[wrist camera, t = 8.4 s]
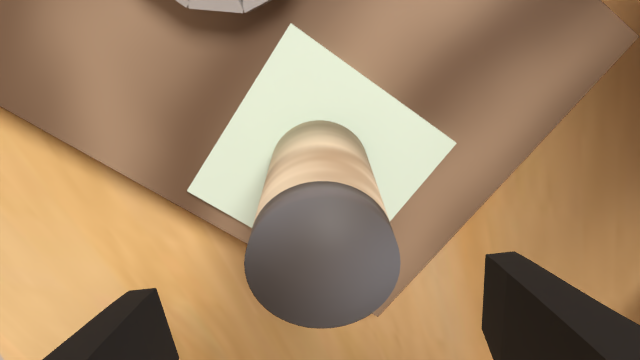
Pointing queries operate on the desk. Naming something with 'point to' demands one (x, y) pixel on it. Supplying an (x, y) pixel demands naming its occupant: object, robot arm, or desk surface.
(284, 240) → the beech pin
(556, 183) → the desk surface
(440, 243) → the walnut board
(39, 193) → the desk surface
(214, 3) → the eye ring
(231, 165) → the sage pad
